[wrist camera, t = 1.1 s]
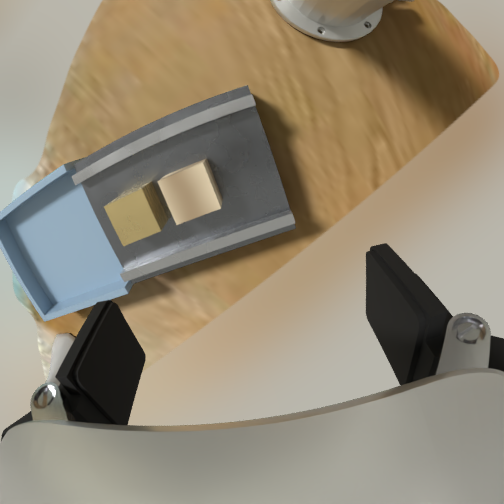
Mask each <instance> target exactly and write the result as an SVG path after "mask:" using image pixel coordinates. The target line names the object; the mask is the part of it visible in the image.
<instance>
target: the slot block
mask: <svg viewBox="0 0 504 504" xmlns="http://www.w3.org/2000/svg"><path fill="white" fill-rule="evenodd" d="M255 106H256V103H255V100H254V98H253V95H252V94H251V93H250V90H249V88H248V85H247V86H244V87H241V88H237V89H234V90H232V91H229V92H226V93H223V94H220V95H217V96H214V97H212V98H209V99H206V100H204V101H201V102H199V103H196V104H193V105H191V106H189V107H186V108H184V109H181V110H179V111H177V112H174V113H172V114H170V115H167V116H165V117H163V118H161V119H158V120H156V121H154V122H152V123H150V124H148V125H146V126H144V127H141V128H139V129H137V130H135V131H133V132H131V133H129V134H127V135H126V136H124V137H122V138H120V139H118V140H116V141H114V142H112V143H110V144H109V145H107V146H105V147H103V148H101V149H100V150H98V151H96V152H94V153H93V154H91V155H89V156H88V157H86V158H84V159H83V160H81V161H79V162H78V163H76V164H74V167H75V170H76V172H77V173H76V174H74V175H73V176H71V177H72V179H73V181H74V184H75V186H76V185H78V184H80V183H81V184H82V186H83V189H84V191H85V193H86V195H87V198H88V200H89V202H90V204H91V206H92V208H93V211H94V213H95V215H96V217H97V219H98V221H99V223H100V225H101V227H102V229H103V231H104V233H105V235H106V237H107V239H108V241H109V243H110V245H111V247H112V249H113V251H114V252H115V254H116V256H117V258H118V260H119V262H120V264H121V265H122V267H123V270H122V271H121V273H120V276H121V277H122V279H123V281H124V282H126V281H129V280H130V281H131V283H132V284H134V283H137V282H140V281H142V280H145V279H148V278H151V277H154V276H157V275H160V274H163V273H166V272H169V271H171V270H174V269H177V268H180V267H183V266H186V265H189V264H192V263H195V262H198V261H201V260H204V259H206V258H209V257H212V256H215V255H218V254H221V253H224V252H227V251H230V250H233V249H236V248H239V247H242V246H245V245H248V244H251V243H254V242H257V241H260V240H263V239H266V238H269V237H272V236H275V235H277V234H280V233H283V232H286V231H289V230H292V229H295V228H296V227H295V220H294V217H293V213H292V212H291V210H290V207H289V204H288V201H287V198H286V195H285V191H284V188H283V185H282V182H281V179H280V176H279V173H278V170H277V167H276V164H275V161H274V158H273V155H272V152H271V149H270V146H269V143H268V140H267V137H266V135H265V132H264V129H263V126H262V123H261V120H260V118H259V115H258V112H257V109H256V107H255ZM204 159H207V160H208V163H209V165H210V168H211V170H212V173H213V176H214V178H215V181H216V183H217V186H218V188H219V191H220V194H221V196H222V199H223V200H222V206H221V209H219V210H216V211H213V212H210V213H208V214H205V215H202V216H200V217H197V218H194V219H192V220H189V221H186V222H184V223H181V224H178V225H176V223H175V220H174V218H173V216H172V214H171V211H170V209H169V207H168V205H167V202H166V200H165V198H164V196H163V193H162V191H161V189H160V186H159V184H158V181H159V180H160V179H161V178H163V177H164V176H165V175H167V174H169V173H172V172H174V171H177V170H179V169H181V168H184V167H186V166H189V165H191V164H194V163H196V162H199V161H201V160H204ZM151 181H152V184H153V186H154V188H155V191H156V193H157V195H158V198H159V200H160V202H161V204H162V207H163V209H164V211H165V213H166V215H167V218H168V221H167V223H166V224H165V226H164V227H163V229H162V231H160V232H158V233H155V234H153V235H150V236H148V237H145V238H143V239H140V240H138V241H135V242H133V243H130V244H128V245H126V246H123V245H122V243H121V241H120V239H119V237H118V235H117V233H116V231H115V229H114V227H113V225H112V223H111V221H110V219H109V217H108V215H107V213H106V210H105V208H104V206H105V205H107V204H108V203H110V202H111V201H112V200H114V199H115V198H117V197H119V196H121V195H123V194H125V193H127V192H129V191H131V190H133V189H136V188H138V187H140V186H142V185H144V184H147V183H149V182H151Z"/></svg>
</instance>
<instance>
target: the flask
mask: <svg viewBox="0 0 504 504" xmlns="http://www.w3.org/2000/svg"><path fill="white" fill-rule="evenodd" d="M74 340H75V337H74V336H72V335H71V334H69V333H65V334H57V335H56V337H55V340H54V342H53V347H52V356H51V363H50V371H49V375H48V378H47V380H46V382H45V383H48V382H53V383H55V384H57V385H58V387H59V384H60V382H59V381H58V380H57V379H56V377H55V376H56V374H57V372H58V370H59V368H60V366H61V364H62V362H63V360H64V358H65V356H66V355H67V353H68V351H69V349H70V347H71V345H72V344H73V342H74ZM42 385H43V384H42Z"/></svg>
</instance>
